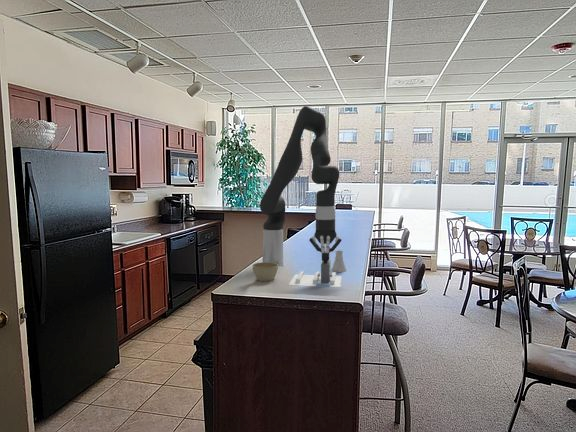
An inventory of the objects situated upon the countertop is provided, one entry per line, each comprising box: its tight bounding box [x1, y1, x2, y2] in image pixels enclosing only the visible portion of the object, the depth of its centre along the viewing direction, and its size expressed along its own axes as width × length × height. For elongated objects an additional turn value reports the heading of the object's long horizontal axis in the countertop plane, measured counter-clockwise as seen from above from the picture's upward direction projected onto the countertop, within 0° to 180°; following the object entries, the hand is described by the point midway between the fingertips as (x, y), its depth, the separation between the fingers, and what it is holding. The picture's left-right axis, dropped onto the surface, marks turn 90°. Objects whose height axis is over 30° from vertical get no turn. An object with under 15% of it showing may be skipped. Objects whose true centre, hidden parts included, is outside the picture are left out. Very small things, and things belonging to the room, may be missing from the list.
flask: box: [330, 249, 348, 273], centre depth 169 cm, size 7×7×10 cm
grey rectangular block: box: [320, 259, 332, 283], centre depth 153 cm, size 3×9×7 cm, turn 170°
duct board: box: [288, 270, 342, 288], centre depth 153 cm, size 19×16×4 cm
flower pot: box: [252, 261, 279, 282], centre depth 155 cm, size 10×10×7 cm
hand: (325, 262), depth 153 cm, fingers closed
